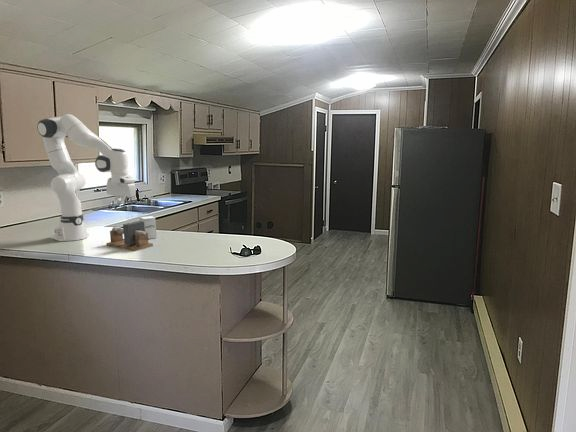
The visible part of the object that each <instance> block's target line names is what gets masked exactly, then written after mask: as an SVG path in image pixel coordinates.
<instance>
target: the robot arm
mask: <svg viewBox="0 0 576 432" xmlns="http://www.w3.org/2000/svg"><path fill="white" fill-rule="evenodd" d="M37 131H38V133H39V135H40V136H41V137H43V144H44V148H45V153H46V154H47V158H48V160H49V164H50V166H51V167H52V169H54V170H55V171H56V172H57V173H58V175H56V176H55V177H54V178H52V180H51V181H50V188H51V190H52V191H53V192H55V194H56V196H57V198H58V201H59V205H60V211H61V216H60V217H59V219H60V222H59V223H58V224H57V225H56V227H55V228H54V234H53V235H51V236H50V239H51V240H56V241H58V242H71V241H78V240H84V239H87V238H88V237H89V235H90V234H89V233H88V231H87V226H86V222H85V221H84V214H83V210H82V209H83V208H82V202H81V199H79V197H78V196H77V193H76V192H77V191H79V190H81V189H83V188H84V186H85V184H86V178H85V177H84V175H83V174H81V173H80V172H79V170H78V169H77V168H76V166H75V164H74V163H73V161H72V159H71V156H70V154H69V151H68V149H67V146H66V143H65V138H68V139H69V140H70V141H71V142H73V144H75V145H77V146H80V147H84V148H85V147H86V148H91V149H94V150H96V151H98V152H99V153H100V154H101V155H100V154H99V155H97V156H96V158H95V160H94V161H95V162H94V165H95V166H94V167H96V170H97V171H99V172H100V173H110V176H111V177H109V178H108V179H107V181H106V194H107V195H110V196H115V197H116V199H117V204H120V205H124V204H125V200H126V197H127V198H133V197H135V196H136V194H137V193H136V192H137V191H136V185H135V182H136V178H134V177H132V176H130V174H129V171H128V165H129V164H128V155H127V152H126V151H125V150H124V149H122V148H113V147H112V146H111V145H109V144H108V143H107V142H106V141H105V140H104V139H102V138H101V137H100V136H98V135H97V134H96V133H94V132H93V131H91V129H89V128H88V127H87V126H86V125H85V124H84V123H83V122H82V121H81V120H79V118H77V117H76V116H74V115H73V114H72V113H71V114H69V113H67V114H66V113H65V114H64V115H62V116H54V117H49V118H42V119H41V120H39V121H38V122H37Z"/></svg>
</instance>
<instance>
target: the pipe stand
mask: <svg viewBox="0 0 576 432" xmlns="http://www.w3.org/2000/svg"><path fill="white" fill-rule="evenodd" d="M109 235H110V242H106V244H105V245H106V246H107V247H111V248H118V249H124V250H127V249H128V250H127V251H132V252H133V251H134V252H135V251H136V252H138V251H140V250H143V249H144V250H145V249H147V248H151V247H154V243H152V242H149V239H148V233H145V232H144V231H138V230H134V236H135V239H136V244H132V245H126V244H125V243H124V231H123V227H115V226H114V227H112V229H111V230H109Z"/></svg>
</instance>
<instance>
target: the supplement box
mask: <svg viewBox="0 0 576 432" xmlns="http://www.w3.org/2000/svg"><path fill="white" fill-rule="evenodd" d="M139 221H144V226H145V233H148V240H151V239H152V240H153V239H157V238H158V237H157V223H156V217H155V216H152V215H149V216H142V217H141V216H140V217H139Z"/></svg>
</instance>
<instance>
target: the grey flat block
mask: <svg viewBox="0 0 576 432" xmlns="http://www.w3.org/2000/svg"><path fill="white" fill-rule="evenodd" d="M122 228H123V231H124V234H123V239H124V243H125V244H126V245H132V244H136V239H135V236H134V230H138V231H144V232H145V226H144V221H140V220H137V221H133V222H126V223H123V224H122Z"/></svg>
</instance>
